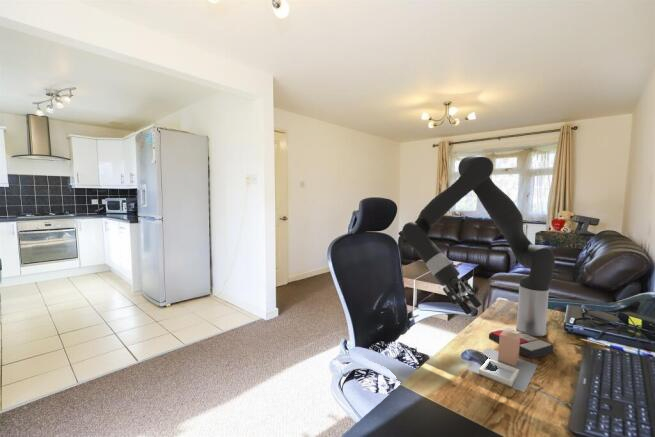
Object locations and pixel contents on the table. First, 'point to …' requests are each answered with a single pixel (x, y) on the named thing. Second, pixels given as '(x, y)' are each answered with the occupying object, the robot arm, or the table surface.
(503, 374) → the build board
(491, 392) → the table surface
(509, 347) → the pillar block
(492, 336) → the calculator
